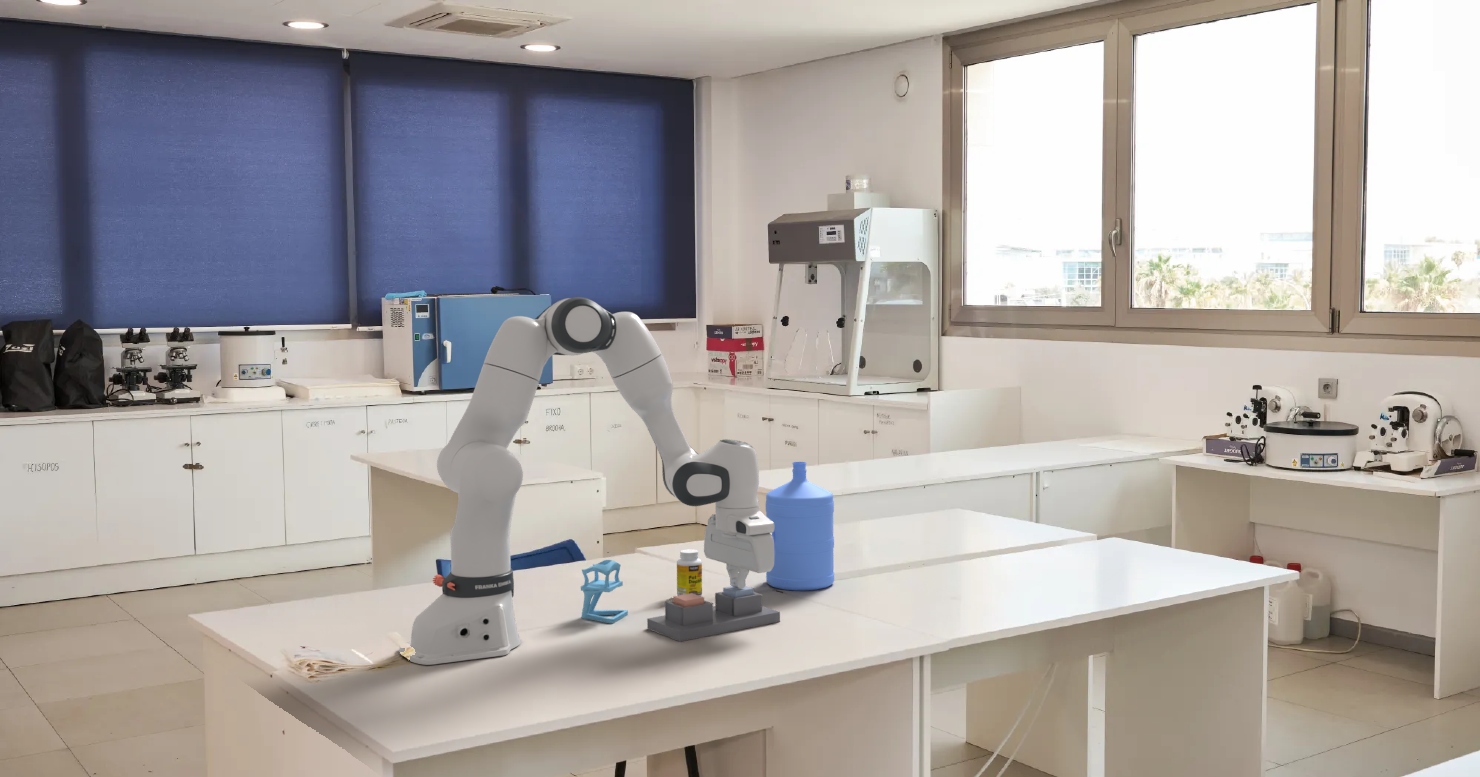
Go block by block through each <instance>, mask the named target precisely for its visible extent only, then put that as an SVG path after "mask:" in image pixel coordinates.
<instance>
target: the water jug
mask: <svg viewBox="0 0 1480 777" xmlns="http://www.w3.org/2000/svg"><path fill="white" fill-rule="evenodd" d="M791 464H792V478H791V481H789V482H786V483H784V484H783V485H781V486H778V487H776V488H774V489H772V490H770V491H768V492H767V493H766V495H765V496H766V497H765V499H766V500H765V513H766V515H765V516H766V517H767V518H769V519H770V520H771V521H772V522H773V523H774V532H771V535H772V537H773V540H774V566H773V568H772V570H771V571H769V572H765V574H766V576H765V578H766V580H765V581H766V582H767V584H768V586H770V587H772V588H774V589H775V588H776V589H779V590H783V591H784V590H786V591H800V592H801V591H803V592H805V591H815V590H816V591H817V590H820V589H826V588H828V587H830V586H832V585H833V583H835V571H834V565H835V564H834V560H835V559H834V557H835V555H834V548H835V536H834V511H835V504H834V503H835V502H834V495H833V493H832V492H831V491H829V490H828V489H825V488H824V487H821V486H819V485H817V484H815V483H813V482H811V481H809V480H808V478H807V468H806V466H807V462H806V461H794V462H792V463H791Z"/></svg>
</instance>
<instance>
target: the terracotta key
mask: <svg viewBox="0 0 1480 777" xmlns="http://www.w3.org/2000/svg"><path fill="white" fill-rule="evenodd" d="M704 600H705V597H704V596H703V595H701V596H699V595H696V594H693V593H690V594H685V595H679V596H677V595H674V596H673V603H675V604H678V605H680V606H683V607H688V606H694V605H699V604H704Z"/></svg>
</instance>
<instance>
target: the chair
mask: <svg viewBox="0 0 1480 777" xmlns="http://www.w3.org/2000/svg"><path fill="white" fill-rule="evenodd" d="M620 570H621V564H620V563H619V562H618V561H615V560H612V559H605V560H602V561H599V562H598V563H593V564H592V566H590V567H589V566H588V567H587V568H584V569H581V572H582V574H583V578H584V584H583V585H581V586H580V591H582V592H583V595H584V596H583V606H582V612H581V619H586V620H591V621H596V622H599V623H600V622H601V623H607V624H611V625H612V624H615V623H616V622H618V621H620V620H621V619H623V618H625V617H626V616H628V614H629V611H628V609H627V610H626V609H596V606H597V604H598V601H599V600H600V597H601V596H602V594H603V593H611V592H613V591H614V590H615V589H617V588H620V587H622V586H624V584H623V581H622V580H620V577H619V574H620ZM614 571H615V573H614V580H610V575H611V574H612V572H614ZM591 572H594V579H593V580H591V581H589V580H590V579H589V577H588V575H587V574H589V573H591ZM599 573H601V574H603V575H605V578H604V580H603V579H600V576H599ZM606 616H607V617H606ZM608 616H613V617H608Z"/></svg>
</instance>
